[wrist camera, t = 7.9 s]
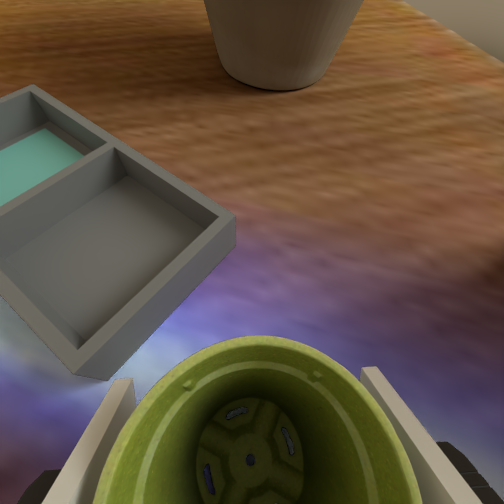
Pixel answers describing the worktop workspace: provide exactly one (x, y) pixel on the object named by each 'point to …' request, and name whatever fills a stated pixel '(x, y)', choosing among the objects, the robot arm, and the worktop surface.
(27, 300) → the tray
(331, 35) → the plant pot
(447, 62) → the worktop surface
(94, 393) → the worktop surface
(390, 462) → the plant pot
